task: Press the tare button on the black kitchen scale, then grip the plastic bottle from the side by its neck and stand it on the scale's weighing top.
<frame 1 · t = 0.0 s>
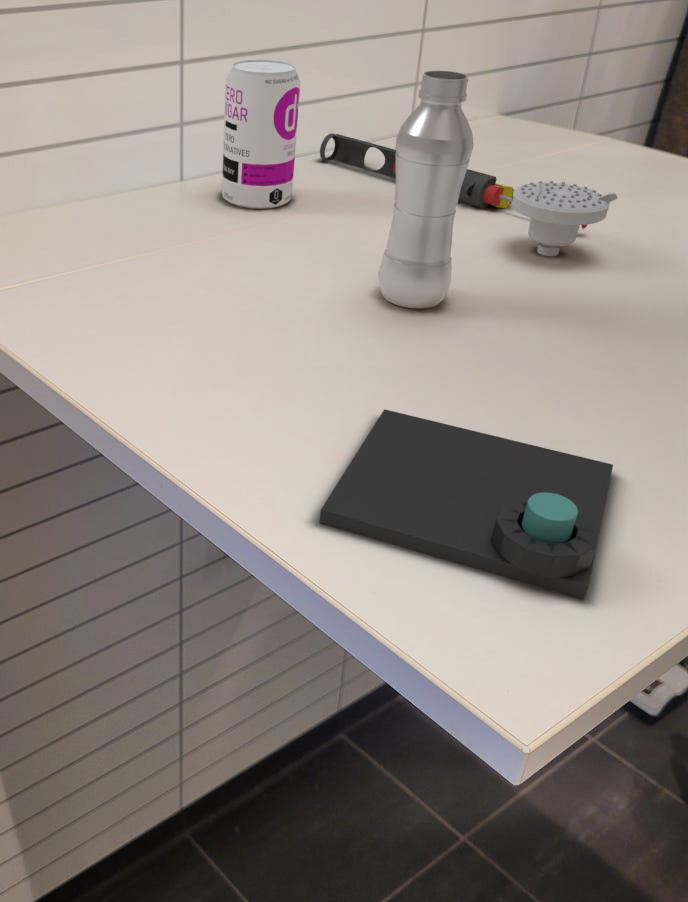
showerhead: (549, 257, 99), on the worktop
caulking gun: (452, 195, 116), on the worktop
supplement can: (256, 203, 112), on the worktop
scale: (469, 503, 62), on the worktop
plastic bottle: (409, 304, 88), on the worktop
tare button: (549, 518, 55), point 4 cm above the worktop, slide at 0.1 cm
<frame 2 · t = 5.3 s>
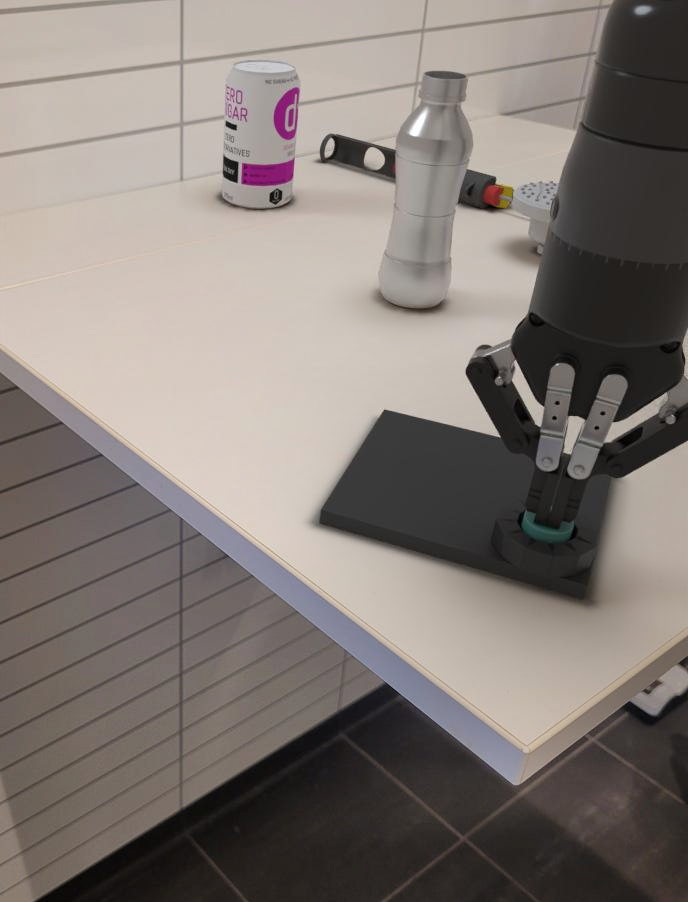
hand: (547, 518, 55), 3 cm above the worktop, tool pointing down, fingers closed
tare button: (545, 530, 55), point 3 cm above the worktop, slide at -0.8 cm, touching gripper
everything else where it was.
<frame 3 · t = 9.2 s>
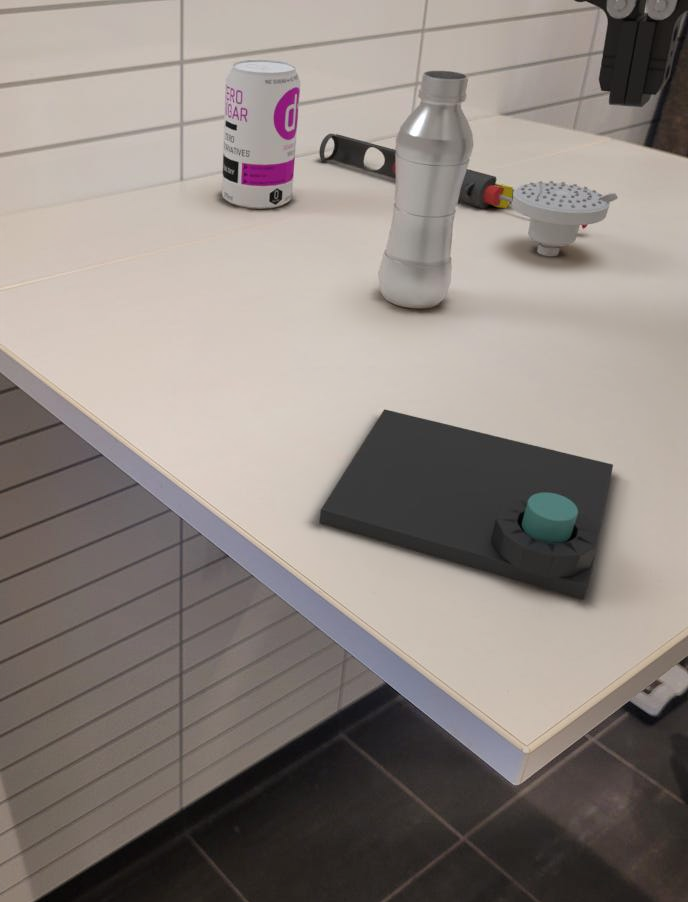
hand: (628, 102, 45), 26 cm above the worktop, tool pointing down, fingers closed
tare button: (549, 518, 55), point 4 cm above the worktop, slide at 0.1 cm
everything else where it was.
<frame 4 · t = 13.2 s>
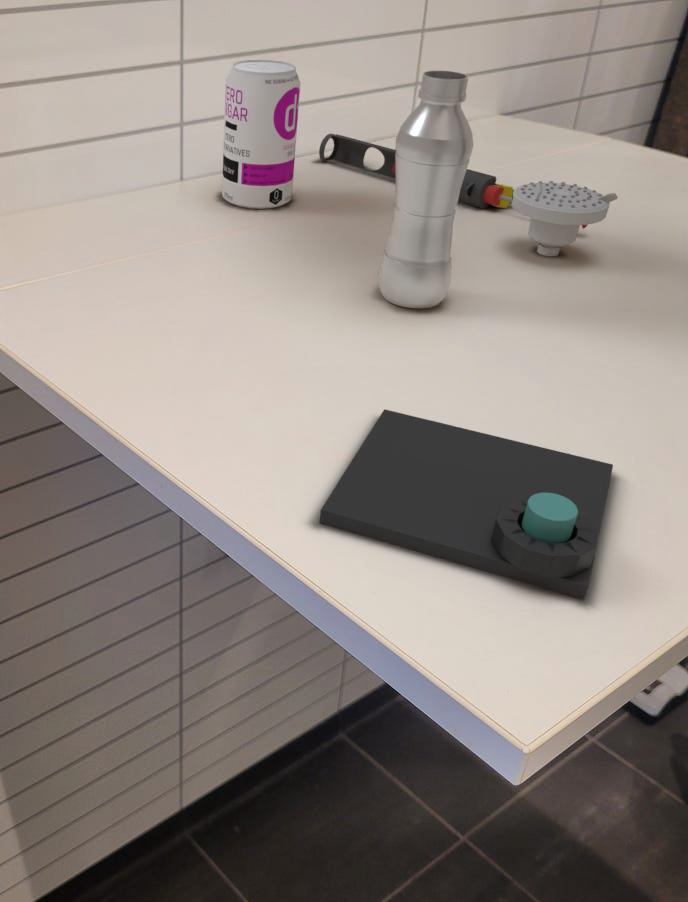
nothing on the worktop moved.
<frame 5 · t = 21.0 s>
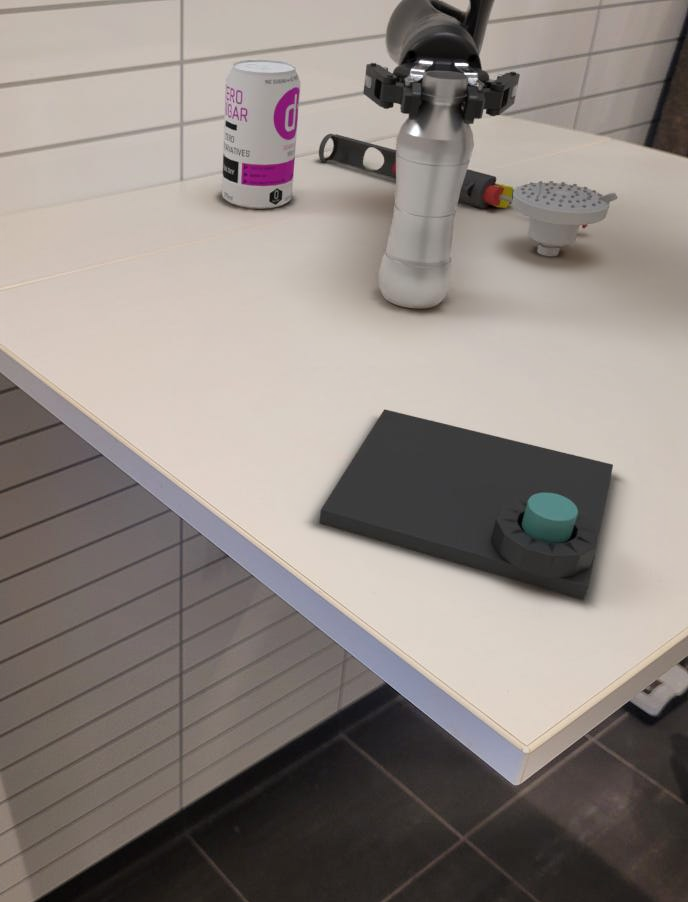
hand: (443, 108, 76), 18 cm above the worktop, tool horizontal, fingers closed on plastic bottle, 4 cm apart
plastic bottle: (409, 304, 88), on the worktop, touching gripper
everything else where it was.
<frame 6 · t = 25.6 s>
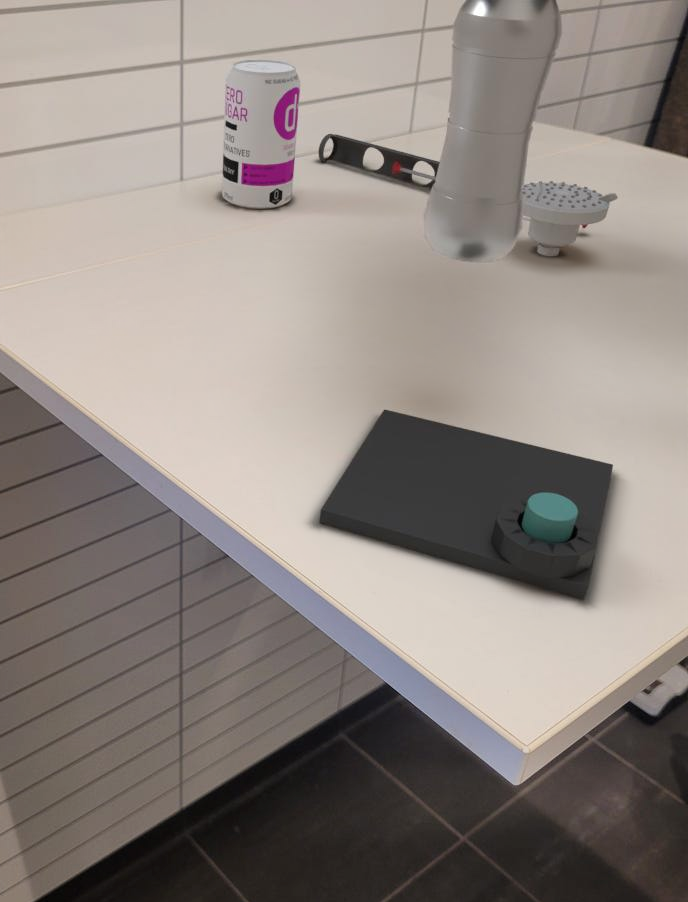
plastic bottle: (464, 258, 67), point 12 cm above the worktop, touching gripper
everything else where it was.
when the fingers open (19 cm above the worktop, at t = 30.6 s): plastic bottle stays where it is, resting on scale.
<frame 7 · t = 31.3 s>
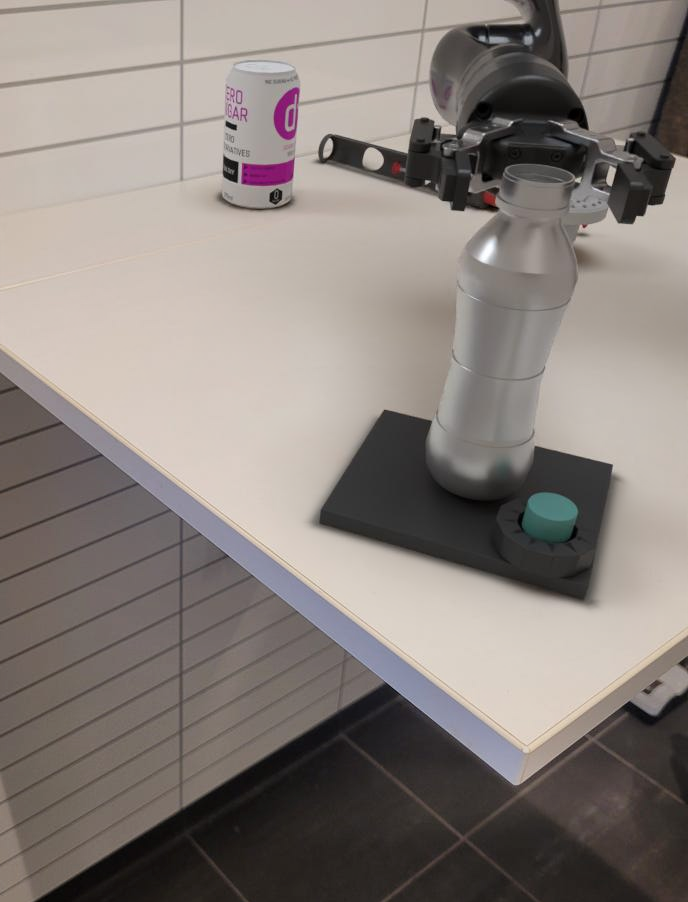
hand: (546, 199, 48), 21 cm above the worktop, tool horizontal, fingers open, 8 cm apart
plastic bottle: (470, 486, 61), point 1 cm above the worktop, touching scale
everything else where it was.
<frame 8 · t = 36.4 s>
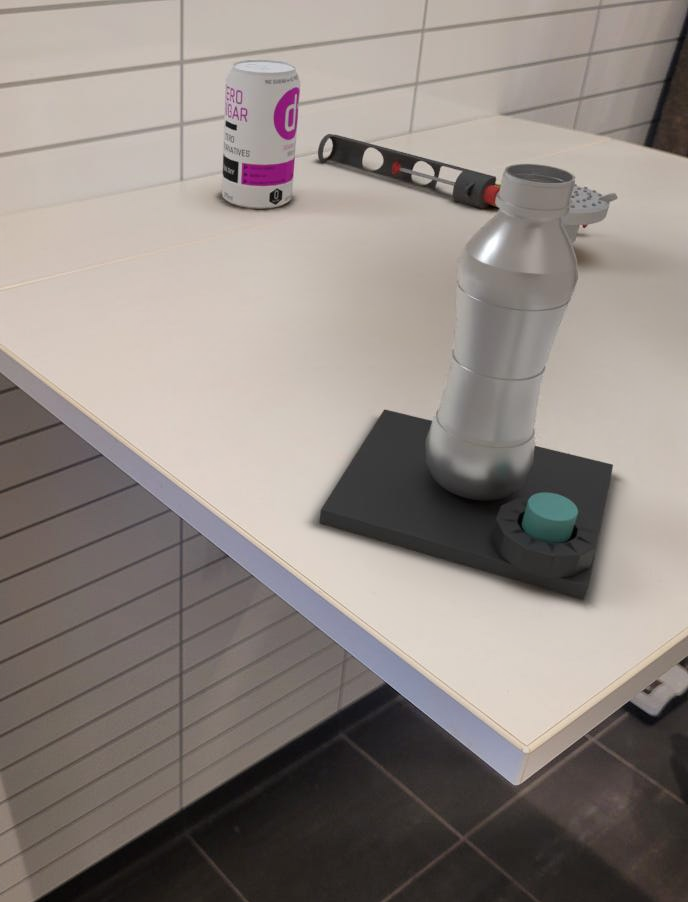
nothing on the worktop moved.
at the end: tare button pushed in 0.9 cm at the most during the clip, back to where it started at the end; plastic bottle inside the target area on the scale (0.3 cm from its centre), point 1.2 cm above the scale's base; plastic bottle tilted 0° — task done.
